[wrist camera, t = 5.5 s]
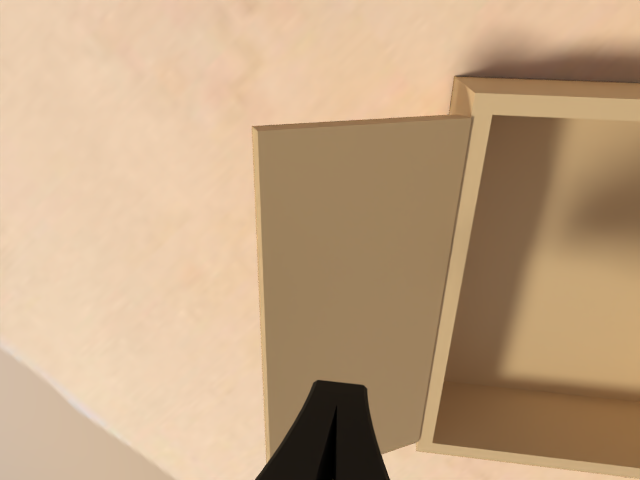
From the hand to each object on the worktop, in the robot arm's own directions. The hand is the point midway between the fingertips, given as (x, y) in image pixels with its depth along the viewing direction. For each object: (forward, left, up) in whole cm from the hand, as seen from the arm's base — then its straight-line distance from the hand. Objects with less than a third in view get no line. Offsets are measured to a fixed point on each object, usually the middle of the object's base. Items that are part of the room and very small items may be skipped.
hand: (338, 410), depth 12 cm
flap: (0, 0, -4) cm, 4 cm away
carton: (0, -10, -10) cm, 14 cm away
